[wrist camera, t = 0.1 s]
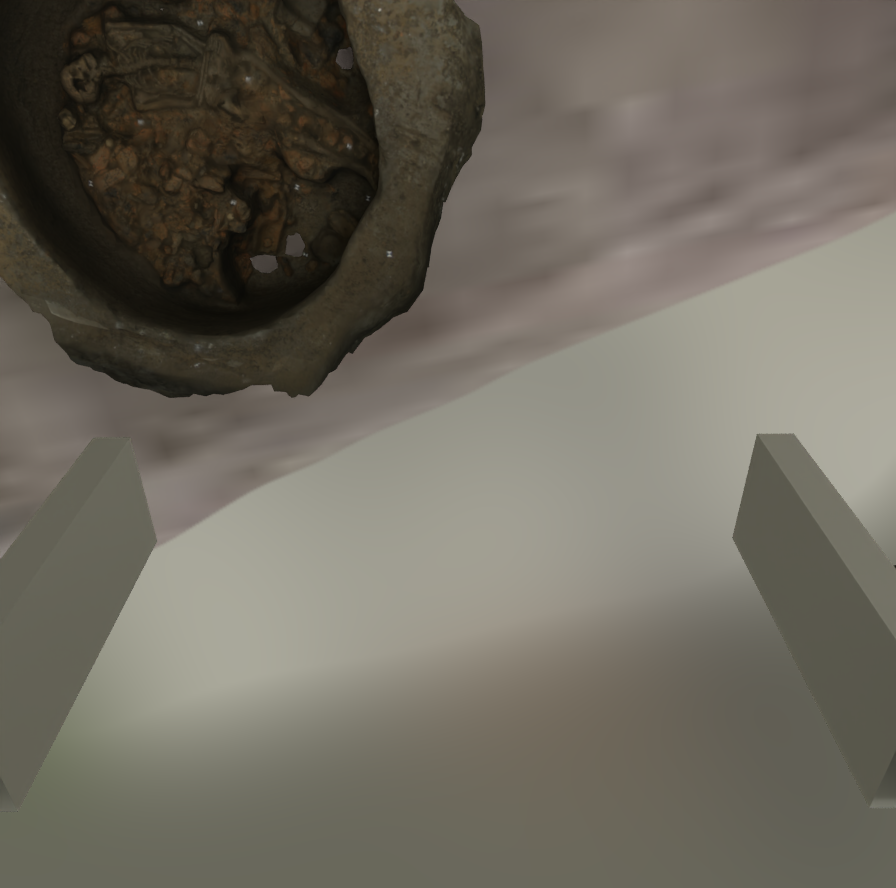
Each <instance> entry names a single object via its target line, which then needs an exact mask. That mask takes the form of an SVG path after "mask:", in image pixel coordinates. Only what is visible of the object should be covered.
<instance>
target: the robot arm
mask: <svg viewBox="0 0 896 888" xmlns="http://www.w3.org/2000/svg"><path fill="white" fill-rule="evenodd" d="M733 540H734V542H735V544H736V546H737V548H738V550H739V552H740V554H741V556H742V558H743V560H744V562H745V564H746V566H747V568H748V570H749V572H750V574H751V576H752V578H753V580H754V581H755V584H756V586H757V587H758V589H759V591H760V593H761V595H762V597H763V599H764V601H765V603H766V605H767V607H768V609H769V611H770V613H771V615H772V617H773V619H774V621H775V623H776V625H777V627H778V629H779V631H780V633H781V635H782V637H783V639H784V641H785V643H786V645H787V647H788V649H789V651H790V653H791V655H792V657H793V659H794V660H795V663H796V664H797V666H798V668H799V670H800V672H801V674H802V676H803V678H804V680H805V682H806V684H807V686H808V688H809V690H810V692H811V694H812V696H813V698H814V700H815V702H816V704H817V706H818V708H819V710H820V712H821V714H822V716H823V718H824V720H825V722H826V724H827V726H828V728H829V729H830V732H831V734H832V736H833V738H834V739H835V742H836V744H837V745H838V747H839V749H840V751H841V753H842V755H843V757H844V759H845V761H846V763H847V765H848V767H849V769H850V771H851V773H852V775H853V777H854V779H855V781H856V783H857V785H858V787H859V789H860V791H861V793H862V795H863V797H864V798H865V801H866V803H867V805H868V807H869V808H896V565H895V566H894V565H893V564H892V563H891V562H890V560H889V559H888V558H887V557H886V555H885V554H884V552H883V551H882V550H881V549H880V547H879V546H878V545H877V543H876V542H875V541H874V539H873V538H872V537H871V536H870V534H869V533H868V531H867V530H866V529H865V527H864V526H863V525H862V523H861V522H860V521H859V519H858V518H857V517H856V515H855V514H854V513H853V512H852V510H851V509H850V508H849V506H848V505H847V503H846V502H845V501H844V500H843V498H842V497H841V496H840V494H839V493H838V492H837V490H836V489H835V488H834V486H833V485H832V484H831V482H830V481H829V480H828V478H827V477H826V476H825V474H824V473H823V472H822V470H821V469H820V468H819V467H818V465H817V464H816V463H815V461H814V460H813V459H812V457H811V456H810V455H809V454H808V452H807V451H806V449H805V448H804V447H803V445H802V444H801V443H800V442H799V440H798V439H797V438H796V436H795V435H794V434H757V436H756V440H755V445H754V449H753V453H752V457H751V462H750V466H749V470H748V475H747V478H746V483H745V487H744V491H743V496H742V500H741V504H740V508H739V512H738V516H737V521H736V525H735V529H734V533H733ZM156 542H157V539H156V535H155V531H154V527H153V523H152V520H151V516H150V512H149V508H148V504H147V500H146V496H145V493H144V489H143V485H142V481H141V477H140V473H139V470H138V466H137V462H136V458H135V454H134V450H133V446H132V443H131V439H130V438H93V439H92V441H91V442H90V443H89V445H88V446H87V447H86V448H85V450H84V451H83V452H82V454H81V455H80V456H79V458H78V459H77V460H76V462H75V463H74V464H73V465H72V467H71V468H70V469H69V471H68V472H67V473H66V475H65V476H64V477H63V478H62V480H61V481H60V482H59V484H58V485H57V486H56V488H55V489H54V490H53V492H52V493H51V494H50V495H49V497H48V498H47V499H46V501H45V502H44V503H43V505H42V506H41V507H40V508H39V510H38V511H37V512H36V514H35V515H34V516H33V518H32V519H31V520H30V521H29V523H28V524H27V525H26V527H25V528H24V529H23V531H22V532H21V533H20V535H19V536H18V537H17V538H16V540H15V541H14V542H13V544H12V545H11V546H10V548H9V549H8V550H7V551H6V553H5V554H4V555H3V557H2V558H1V559H0V812H18V810H19V808H20V807H21V805H22V803H23V801H24V799H25V797H26V795H27V793H28V791H29V789H30V787H31V785H32V783H33V781H34V779H35V777H36V775H37V773H38V771H39V770H40V768H41V766H42V764H43V762H44V760H45V758H46V756H47V754H48V752H49V750H50V748H51V746H52V744H53V742H54V740H55V739H56V737H57V735H58V733H59V731H60V729H61V727H62V725H63V723H64V721H65V719H66V717H67V715H68V713H69V711H70V709H71V707H72V706H73V704H74V702H75V700H76V698H77V696H78V694H79V692H80V690H81V688H82V686H83V684H84V682H85V680H86V678H87V676H88V674H89V672H90V670H91V669H92V666H93V665H94V663H95V661H96V659H97V657H98V655H99V653H100V651H101V649H102V647H103V645H104V643H105V641H106V639H107V637H108V636H109V634H110V632H111V630H112V628H113V626H114V624H115V622H116V620H117V618H118V616H119V614H120V612H121V610H122V608H123V606H124V604H125V602H126V601H127V599H128V597H129V595H130V593H131V591H132V589H133V587H134V585H135V583H136V581H137V579H138V577H139V575H140V573H141V571H142V569H143V568H144V566H145V564H146V562H147V560H148V557H149V556H150V554H151V552H152V550H153V548H154V546H155V544H156Z"/></svg>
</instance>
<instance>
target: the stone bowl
mask: <svg viewBox="0 0 896 888" xmlns="http://www.w3.org/2000/svg"><path fill="white" fill-rule="evenodd" d="M160 8H163V10H161V9H160ZM348 47H351V48H352V49H353V62H354V63H353V67H352V68H351V69H342V68H341V67H340V66H339V65H338V64H337V63H336V57H337V53H338V50H339V49H345V48H348ZM484 108H485V86H484V72H483V55H482V41H481V34H480V28H479V25H478V24H477V23H475V22H474V21H472V20H471V19H469V18H468V17H466V16H465V15H464V13H463V12H462V11H461V9H460V8H459V7H458V6H457V4H456V3H455V2H454V0H0V276H1V277H2V278H3V279H4V281H5V282H6V283H7V284H8V286H9V287H10V288H11V289H12V290H13V291H14V292H15V293H16V294H17V295H18V296H19V297H21V298H22V299H23V300H24V301H25V302H26V303H28V304H29V306H30V308H31V309H32V311H33V312H37V313H41V314H42V315H43V316H44V317H45V318H46V319H47V320H48V321H49V323H50V325H51V328H52V332H53V336H54V340H55V341H56V343H58V344H59V345H60V347H61V348H62V349H63V350H64V351H65V352H66V353H67V354H68V356H69V357H70V359H71V360H72V361H74V362H75V363H76V364H79V365H83V366H88V367H91V368H92V369H93V370H95V371H99V372H103V373H106V374H107V375H109V376H110V377H111V378H113V379H114V380H116V381H118V382H121V383H124V384H128V385H130V386H133V387H138V388H143V389H149V390H152V391H155V392H157V393H160V394H162V395H164V396H166V397H169V398H175V397H189V396H191V395H192V394H198V395H202V396H208V395H211V394H221V395H224V394H228V393H232V392H236V391H239V390H243V389H245V388H247V387H249V386H251V385H272V387H273V389H274V391H281V392H286V393H288V395H289V396H290V397H292V398H293V397H296V396H297V395H298V394H300V395H305V396H310V395H311V394H312V393H313V392H314V391H315V390H316V389H317V388H318V387H319V386H320V385H321V384H322V383H323V381H324V380H325V379H326V377H327V375H328V374H329V373H330V372H332V371H334V370H336V369H337V367H338V365H339V364H340V362H341V361H342V359H343V358H344V356H345V355H346V354H347V353H348V352H350V353H352V354H353V352H354V351H355V350H356V348H357V347H358V346H359V344H360V343H361V342H362V340H363V339H364V338H365V337H367V336H369V335H371V334H372V333H373V332H375V331H377V330H378V329H380V328H381V327H382V326H383V325H385V324H386V323H387V322H388V321H390V320H391V319H392V318H393V317H395V316H398V315H400V314H402V313H405V312H407V311H408V310H409V309H410V307H411V306H412V305H413V303H414V302H415V300H416V299H417V298H418V296H419V295H420V293H421V292H422V291H423V288H424V282H425V277H426V271H427V267H429V260H430V254H431V247H432V243H433V239H434V235H435V232H436V230H437V227H438V225H439V222H440V219H441V214H442V207H443V202H446V200H447V197H448V195H449V192H450V190H451V187H452V185H453V183H454V181H455V179H456V177H457V176H458V174H459V172H460V170H461V168H462V166H463V165H464V164H465V163H466V162H467V161H468V160H469V158H470V157H471V155H472V146H473V144H474V142H475V140H476V138H477V136H478V134H479V132H480V131H481V125H482V115H483V112H484ZM296 232H297V233H299V234H300V235H301V237H302V239H303V241H304V244H305V248H304V251H303V254H302V255H301V256H299V257H293V256H291V255H286V254H285V250H286V243H287V241H286V238H287V236H288V235H294V234H295V233H296ZM264 254H266V255H274V256H276V260H277V263H278V268H277V269H276V270H274V271H273V272H271V273H261V272H259V271H258V270H256V269H255V268H254V267H253V265H252V262H251V260H250V258H251V257H254V256H257V255H264Z"/></svg>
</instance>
